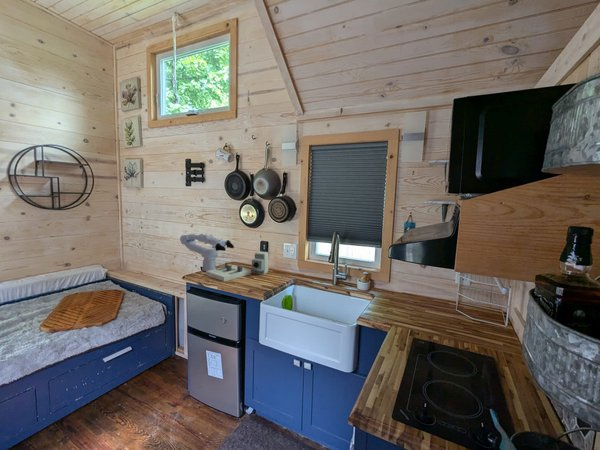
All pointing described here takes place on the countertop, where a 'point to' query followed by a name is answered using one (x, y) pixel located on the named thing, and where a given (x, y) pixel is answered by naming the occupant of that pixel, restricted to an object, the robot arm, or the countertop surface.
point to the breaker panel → (228, 272)
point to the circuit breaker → (260, 262)
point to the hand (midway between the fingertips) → (229, 248)
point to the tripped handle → (229, 267)
